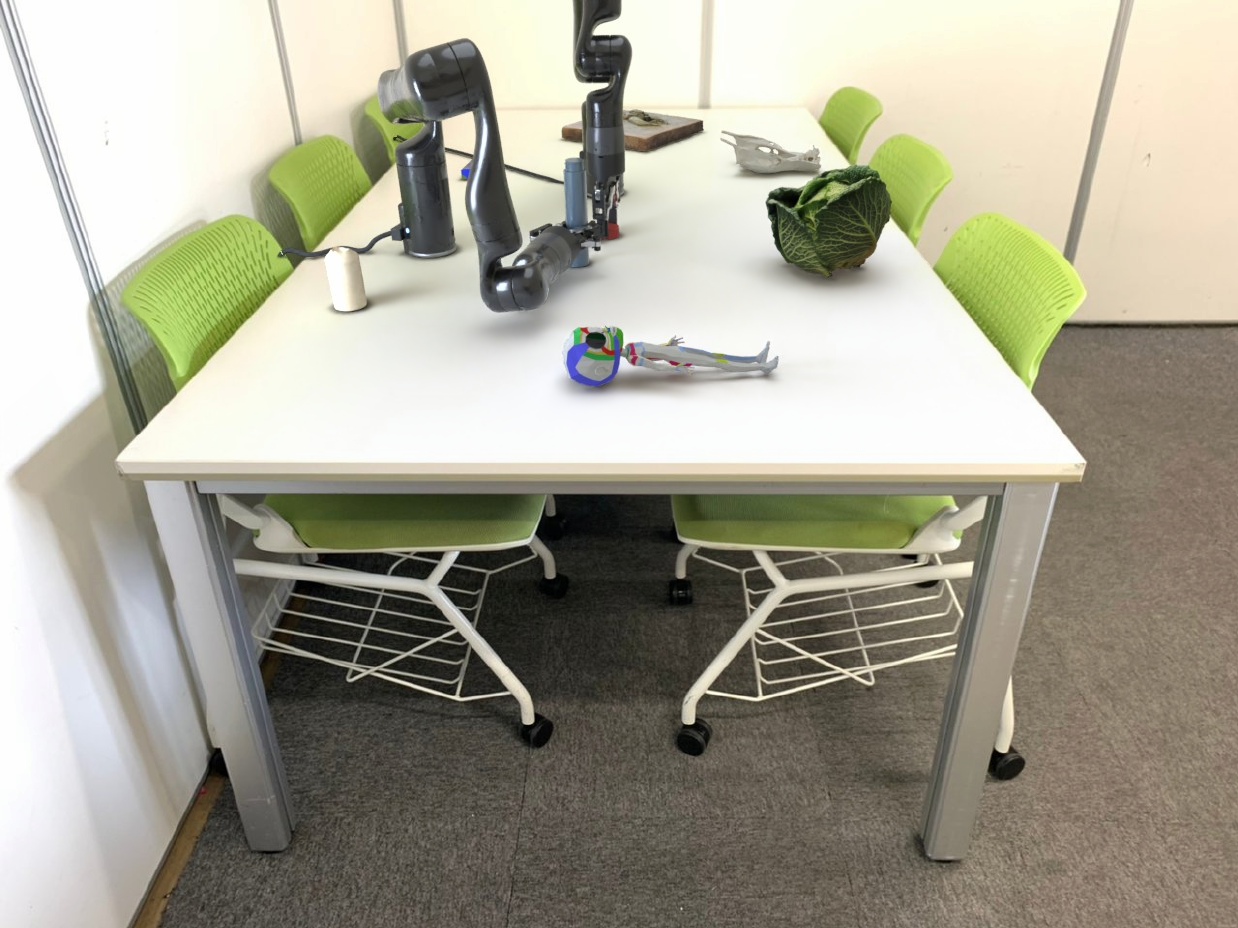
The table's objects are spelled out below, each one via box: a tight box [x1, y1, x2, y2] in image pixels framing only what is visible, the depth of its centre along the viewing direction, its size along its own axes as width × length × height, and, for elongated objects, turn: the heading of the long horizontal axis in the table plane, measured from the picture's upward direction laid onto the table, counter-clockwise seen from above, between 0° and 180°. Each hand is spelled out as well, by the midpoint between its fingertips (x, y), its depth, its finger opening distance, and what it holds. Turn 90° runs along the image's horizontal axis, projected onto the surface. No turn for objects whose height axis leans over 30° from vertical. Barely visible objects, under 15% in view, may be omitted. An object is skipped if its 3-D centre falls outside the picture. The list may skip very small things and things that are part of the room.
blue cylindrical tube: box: [563, 157, 590, 268], centre depth 164 cm, size 4×4×19 cm
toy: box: [561, 325, 780, 387], centre depth 127 cm, size 10×8×30 cm
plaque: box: [561, 108, 705, 152], centre depth 257 cm, size 30×7×30 cm
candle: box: [324, 246, 368, 312], centre depth 150 cm, size 6×6×10 cm
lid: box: [606, 223, 620, 240], centre depth 182 cm, size 5×5×2 cm
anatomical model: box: [720, 130, 822, 174], centre depth 222 cm, size 15×9×25 cm
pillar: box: [460, 159, 472, 180], centre depth 228 cm, size 2×2×20 cm
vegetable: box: [765, 164, 893, 278], centre depth 160 cm, size 20×19×20 cm
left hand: (581, 224), depth 168 cm, fingers closed on blue cylindrical tube, 4 cm apart
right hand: (607, 232), depth 183 cm, fingers open, 6 cm apart
